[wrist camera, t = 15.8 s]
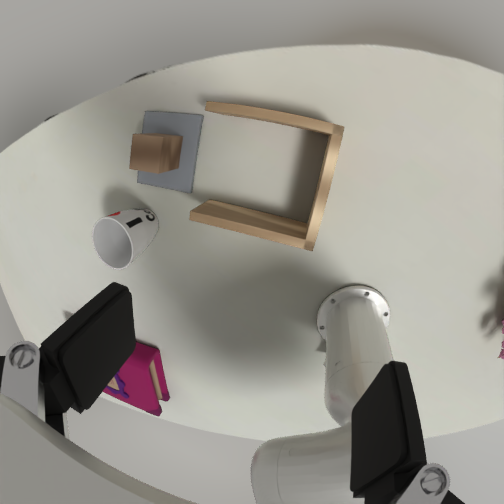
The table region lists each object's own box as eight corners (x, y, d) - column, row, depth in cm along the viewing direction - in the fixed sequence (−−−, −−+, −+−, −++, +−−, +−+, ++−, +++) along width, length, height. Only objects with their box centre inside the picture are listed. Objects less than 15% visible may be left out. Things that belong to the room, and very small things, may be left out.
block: (178, 168, 40) (158, 173, 35) (151, 163, 41) (129, 168, 35) (183, 136, 38) (163, 137, 33) (155, 133, 39) (132, 134, 33)
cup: (169, 208, 44) (135, 227, 35) (163, 251, 47) (131, 277, 38) (130, 195, 44) (92, 210, 35) (126, 236, 48) (91, 258, 39)
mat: (192, 192, 42) (190, 193, 41) (139, 182, 43) (137, 182, 42) (203, 115, 37) (201, 115, 36) (147, 111, 38) (145, 111, 37)
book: (74, 313, 62) (56, 329, 56) (160, 345, 58) (144, 367, 51) (93, 366, 71) (80, 382, 64) (171, 399, 66) (159, 419, 59)
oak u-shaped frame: (313, 233, 40) (312, 251, 34) (208, 207, 42) (189, 219, 36) (339, 129, 34) (344, 126, 27) (224, 106, 36) (206, 101, 29)
